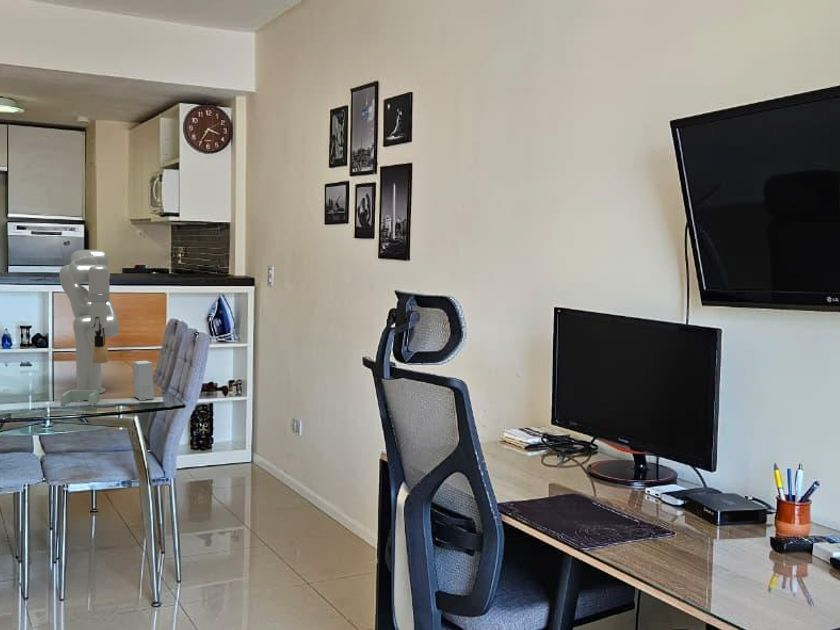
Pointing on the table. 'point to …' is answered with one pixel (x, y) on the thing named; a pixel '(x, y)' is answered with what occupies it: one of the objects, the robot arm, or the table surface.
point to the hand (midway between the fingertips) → (99, 345)
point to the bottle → (100, 354)
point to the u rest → (80, 396)
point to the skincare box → (143, 380)
